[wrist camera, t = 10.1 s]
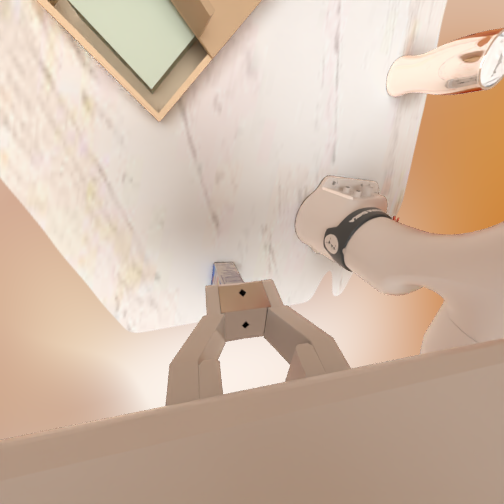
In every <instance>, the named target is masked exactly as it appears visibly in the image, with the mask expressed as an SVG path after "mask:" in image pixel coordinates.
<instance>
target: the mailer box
mask: <svg viewBox="0 0 504 504" xmlns="http://www.w3.org/2000/svg"><path fill="white" fill-rule="evenodd" d="M37 1H38V2H39V3H40V4H41V5H42V6H43V7H44V8H45V9H46V10H47V11H48V12H49V13H50V14H51V15H52V16H53V17H54V18H55V19H56V20H57V21H58V22H59V23H60V24H61V25H62V26H63V27H64V28H65V29H66V30H67V31H68V32H69V33H70V34H71V35H72V36H73V37H74V38H75V39H76V40H77V41H78V42H79V43H80V44H81V45H82V46H83V47H84V48H85V49H86V50H87V51H88V52H89V53H90V54H91V55H92V56H93V57H94V58H95V59H96V60H97V61H98V62H99V63H100V64H101V65H102V66H103V67H104V68H105V69H106V70H107V71H108V72H109V73H110V74H111V75H112V76H113V77H114V78H115V79H116V80H117V81H118V82H119V83H120V84H121V85H122V86H123V87H124V88H125V89H126V90H127V91H128V92H129V93H130V94H131V95H132V96H133V97H134V98H135V99H136V100H137V101H138V102H139V103H140V104H141V105H142V106H143V107H144V108H145V109H146V110H147V111H148V112H149V113H150V114H151V115H152V116H153V117H154V118H155V119H156V120H157V121H158V122H160V121H161V120H162V119H163V117H164V116H165V115H166V114H167V113H168V111H169V110H170V109H171V108H172V107H173V105H174V104H175V103H176V102H177V101H178V99H179V98H180V97H181V96H182V95H183V94H184V92H185V91H186V90H187V89H188V88H189V86H190V85H191V84H192V83H193V82H194V80H195V79H196V78H197V77H198V76H199V74H200V73H201V72H202V71H203V70H204V68H205V67H206V66H207V65H208V64H209V62H210V61H211V60H212V59H211V57H210V56H209V54H208V53H207V52H206V50H205V49H204V47H203V46H202V44H201V43H200V42H199V40H198V39H197V37H196V36H195V35H194V33H193V32H192V30H191V29H190V27H189V26H188V25H187V23H186V22H185V20H184V19H183V18H182V16H181V15H180V13H179V12H178V11H177V9H176V8H175V6H174V5H173V3H172V2H171V1H170V0H37Z"/></svg>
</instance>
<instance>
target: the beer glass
mask: <svg viewBox="0 0 504 504" xmlns="http://www.w3.org/2000/svg"><path fill="white" fill-rule="evenodd" d="M503 77H504V28H499V29H493V30H488V31H483V32H478V33H475V34H471V35H467V36H464V37H461V38H458V39H456V40H454V41H451V42H449V43H446V44H444V45H442V46H440V47H438V48H435V49H433V50H431V51H429V52H426V53H424V54H421V55H406V56H402V57H400V58H398V59H397V60H396V61H395V62H394V63H393V65H392V66H391V68H390V70H389V72H388V76H387V81H386V88H387V91H388V93H389V95H390V96H392V97H398V96H401V95H404V94H408V93H415V92H417V93H426V94H435V95H454V94H463V93H469V92H475V91H481V90H488V89H491V88H492V87H494V86H495V85H496V84H498V83H499V82H500V80H501V79H502V78H503Z"/></svg>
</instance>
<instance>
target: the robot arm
mask: <svg viewBox="0 0 504 504" xmlns="http://www.w3.org/2000/svg"><path fill="white" fill-rule="evenodd" d="M332 183H333V184H332ZM386 213H387V200H386V198H385V197H384V196H382V195H379V187H378V183H377V182H375V181H370V180H361V179H353V178H344V177H336V176H326V177H325V178H324V179H323V181H322V182H321V184H320V185H319V187H318V188H317V189H316V190H315V191H314V192H313V193H312V194H311V195H310V196H309V197H308V198H307V199H306V200H305V201H304V202H303V204H302V206H301V207H300V209H299V211H298V214H297V217H296V223H295V229H296V233H297V236H298V238H299V239H300V240H301V241H302V242H303V243H305V244H307V245H309V246H310V247H311V249H312V250H313V251H314V252H315V253H317V254H320V253H321V254H323V255H324V256H326V257H327V258H329V259H331V260H332V261H334V262H336V263H338V264H339V265H340V266H341V267H343V268H345V269H346V270H348V271H351V272H354V273H355V274H357V275H358V276H359V277H360V278H362V279H363V280H364V281H366V282H367V283H368V284H370V285H371V286H372V287H373V288H375V289H376V290H377V291H379V292H381V293H384V294H388V295H405V294H408V293H411V292H413V291H416V290H418V289H420V288H422V287H425V288H428V289H430V290H432V291H434V292H436V293H437V294H439V295H440V296H441V297H442V298H443V299H444V302H443V304H442V306H441V308H440V309H439V311H438V312H437V314H436V316H435V318H434V319H433V321H432V323H431V324H430V326H429V327H428V329H427V331H426V332H425V334H424V338H423V342H422V346H421V350H420V355H416V356H411V357H406V358H401V359H396V360H392V361H386V362H382V363H376V364H372V365H367V366H362V367H357V368H352V369H351V368H350V366H349V364H348V363H347V361H346V359H345V358H344V356H343V354H342V352H341V351H340V349H339V347H338V346H337V344H336V342H335V340H334V339H333V337H331V336H330V335H328V334H327V333H326V332H324V331H323V330H321V329H320V328H318V327H317V326H316V325H314V324H313V323H311V322H310V321H309V320H307V319H306V318H304V317H303V316H301V315H300V314H299V313H297V312H296V311H294V310H293V309H291V308H290V307H289V306H287V305H286V306H284V305H283V302H282V300H281V298H280V295H279V293H278V291H277V289H276V286H275V284H274V282H273V280H272V279H269V280H261V281H252V282H242V283H232V284H218V285H208V286H206V287H205V291H206V309H207V315H206V316H203V317H202V319H201V320H200V321H199V323H198V324H197V326H196V327H195V329H194V330H193V332H192V333H191V334H190V336H189V337H188V339H187V340H186V342H185V343H184V345H183V346H182V348H181V349H180V350H179V352H178V353H177V355H176V356H175V358H174V359H173V361H172V362H171V363H170V366H169V376H168V386H167V396H166V406H164V407H159V408H154V409H150V410H144V411H139V412H135V413H130V414H125V415H120V416H115V417H110V418H105V419H100V420H95V421H90V422H85V423H80V424H75V425H70V426H66V427H60V428H55V429H51V430H46V431H41V432H36V433H31V434H26V435H21V436H16V437H11V438H6V439H1V440H0V504H504V222H501V223H499V224H497V225H494V226H492V227H489V228H486V229H483V230H480V231H475V232H471V233H464V234H456V235H443V234H434V233H429V232H425V231H422V230H419V229H416V228H413V227H410V226H406V225H404V224H402V223H399V222H398V220H399V218H398V219H397V221H395V216H394V217H393V219H392V218H391V217H390V216H388V215H387V214H386ZM259 336H264V338H265V339H266V340H267V341H268V342H269V343H270V344H271V345H272V346H273V347H274V348H275V349H276V350H277V351H278V352H279V354H280V355H281V356H282V357H283V358H284V359H285V360H286V361H287V362H288V363H289V364H290V368H289V371H288V374H287V378H286V381H285V382H283V383H277V384H272V385H267V386H263V387H258V388H253V389H248V390H243V391H238V392H233V393H228V394H223V390H222V380H221V371H220V362H219V361H218V358H219V356H220V354H221V352H222V349H223V347H224V345H225V342H227V341H232V340H238V339H243V338H251V337H259Z"/></svg>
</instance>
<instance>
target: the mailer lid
mask: <svg viewBox="0 0 504 504" xmlns="http://www.w3.org/2000/svg"><path fill="white" fill-rule="evenodd" d="M170 1H171V2H172V3H173V5H174V6H175V8H176V9H177V11H178V12H179V13H180V15H181V16H182V18H183V19H184V20H185V22H186V23H187V25H188V26H189V27H190V29H191V30H192V32H193V33H194V35H195V36H196V37H197V39H198V40H199V42H200V43H201V44H202V46H203V47H204V49H205V50H206V52H207V53H208V54H209V56H210V57H211V59H213V58H214V57H215V55H216V54H217V53H218V52H219V51H220V49H221V48H222V47H223V46H224V45H225V43H226V42H227V41H228V40H229V39H230V37H231V36H232V35H233V34H234V33H235V31H236V30H237V29H238V28H239V27H240V26H241V24H242V23H243V22H244V21H245V20H246V18H247V17H248V16H249V15H250V14H251V12H252V11H253V10H254V9H255V8H256V6H257V5H258V4H259V3H260V2H261V0H170Z"/></svg>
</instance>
